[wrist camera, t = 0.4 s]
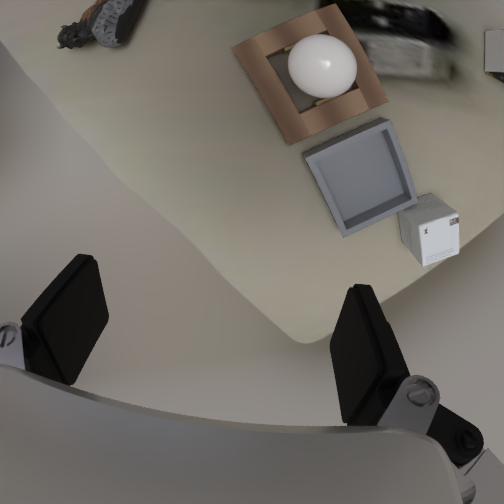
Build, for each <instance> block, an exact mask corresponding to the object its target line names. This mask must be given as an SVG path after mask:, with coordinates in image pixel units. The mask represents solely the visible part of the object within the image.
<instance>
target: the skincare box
mask: <svg viewBox="0 0 504 504" xmlns="http://www.w3.org/2000/svg"><path fill="white" fill-rule="evenodd" d="M418 201H419V202H418V203H416V204H414V205H411V206H409V207H407V208H405V209H403V210H401V211H399V212H398V217H399V223H400V230H401V237H402V242H403V243H404V244H405V245H406V247H407V248H408V249H409V250H410V251H411V253H412V254H413V255H414V256H415V258H416V259H417V260H418V262H419V263H420V264H421V265H422V266H426V265H428V264H431V263H434V262H437V261H439V260H442V259H445V258H448V257H450V256H453V255H456V254H458V253H459V215H458V212H456V211H455V210H453V209H452V208H451V207H449V206H448V205H447V204H445V203H444V202H442V201H441V200H440V199H438V198H437V197H435V196H434V195H433V194H428V195H425V196H422V197H418Z"/></svg>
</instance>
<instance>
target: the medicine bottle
mask: <svg viewBox="0 0 504 504" xmlns="http://www.w3.org/2000/svg"><path fill="white" fill-rule="evenodd" d="M485 73H487V74H489V75H491V76H492V77H494V78H496V79H498V80H500V81H501V82H503V83H504V29H500V30H491V31H486V32H485Z"/></svg>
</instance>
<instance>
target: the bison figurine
mask: <svg viewBox="0 0 504 504" xmlns="http://www.w3.org/2000/svg"><path fill="white" fill-rule="evenodd" d="M143 1H144V0H96V2H95V3H94V5H93V6H91V7H90V8H89V9H88V10H86V11H85V12H84V13H83V15H82V17H81V19H80V22H79V23H76V22H74V23H72V25H70V26H66V25H63V26H61V28H63V29H62V30H61V32H60V33H59V35H58V38H57V39H58V42H59V43H60V46H57V48H58V49H62V48H65V47H68V48H69V49H72V48H73V47H79V48H80V47H82V46H83V45H84V44H86V43H87V42H88V41H89V40H92V39H97V41H98V42H99V43H100V44H101V46H103V47H117V46H120V45H122V44H123V43H124V41H125V39H126V37H127V36H128V34H129V32H130V30H131V28H132V26H133V24H134V22H135V20H136V17H137V15H138V13H139V11H140V8H141V6H142V4H143Z"/></svg>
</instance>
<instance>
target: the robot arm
mask: <svg viewBox="0 0 504 504" xmlns="http://www.w3.org/2000/svg"><path fill="white" fill-rule="evenodd" d="M108 319H109V313H108V309H107V305H106V301H105V297H104V292H103V287H102V283H101V278H100V274H99V269H98V263H97V261H96V260H94V258H93V256H92V255H86V254H78V255H76V256H75V258H73V260H72V261H71V262H70V263H69V264H68V265H67V266H66V267H65V268H64V269H63V270H62V271H61V273H59V275H58V276H57V277H56V278H55V279H54V280H53V281H52V282H51V284H50V285H49V286H48V287H47V288H46V289H45V290H44V291H43V293H42V294H41V295H40V296H39V297H38V298H37V300H36V301H35V302H34V303H33V305H32V306H31V307H30V308H29V309H28V310H27V312H26V313H25V314H24V316H23V317H22V318H21V321H22V326H21V327H20V326H19V325H18V324H16V323H14V322H6V323H3V324H0V504H504V465H503V464H502V463H501V462H500V461H499V460H498V458H497V457H496V456H495V455H494V454H493V453H492V452H491V451H490V450H489V448H487V449H486V450H484V449H483V445H484V441H483V436H482V434H481V432H480V431H479V429H478V428H477V427H476V426H474V425H473V424H471V423H470V422H468V421H466V420H465V419H463V418H462V417H460V416H458V415H457V414H455V413H454V412H452V411H450V410H449V409H447V408H445V407H444V406H442V405H441V404H439V400H440V393H439V390H438V388H437V386H436V385H435V384H434V383H433V382H432V381H431V380H430V379H428V378H426V377H424V376H420V375H413V376H410V373H409V371H408V368H407V365H406V363H405V360H404V358H403V355H402V353H401V350H400V348H399V345H398V343H397V340H396V338H395V335H394V333H393V331H392V328H391V326H390V324H389V323H388V322H387V321H386V319H385V316H384V314H383V312H382V309H381V307H380V305H379V302H378V300H377V298H376V296H375V293H374V291H373V289H372V287H371V285H364V284H355V285H354V286H353V288H352V287H350V288H349V289H348V291H347V294H346V297H345V301H344V304H343V306H342V309H341V312H340V315H339V318H338V321H337V324H336V327H335V329H334V332H333V335H332V338H331V341H330V353H331V358H332V363H333V369H334V374H335V380H336V386H337V392H338V398H339V404H340V410H341V416H342V421H343V423H347V426H285V425H266V424H252V423H241V422H231V421H222V420H214V419H207V418H200V417H194V416H187V415H181V414H176V413H171V412H165V411H160V410H155V409H150V408H146V407H142V406H137V405H133V404H129V403H125V402H121V401H117V400H114V399H110V398H106V397H102V396H99V395H95V394H92V393H89V392H86V391H83V390H79V389H76V388H74V387H71V386H70V385H73V384H74V383H75V381H76V380H77V378H78V375H79V374H80V372H81V370H82V368H83V366H84V364H85V362H86V360H87V358H88V357H89V355H90V353H91V351H92V349H93V347H94V346H95V344H96V342H97V340H98V338H99V337H100V335H101V333H102V331H103V330H104V328H105V326H106V324H107V322H108Z"/></svg>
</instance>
